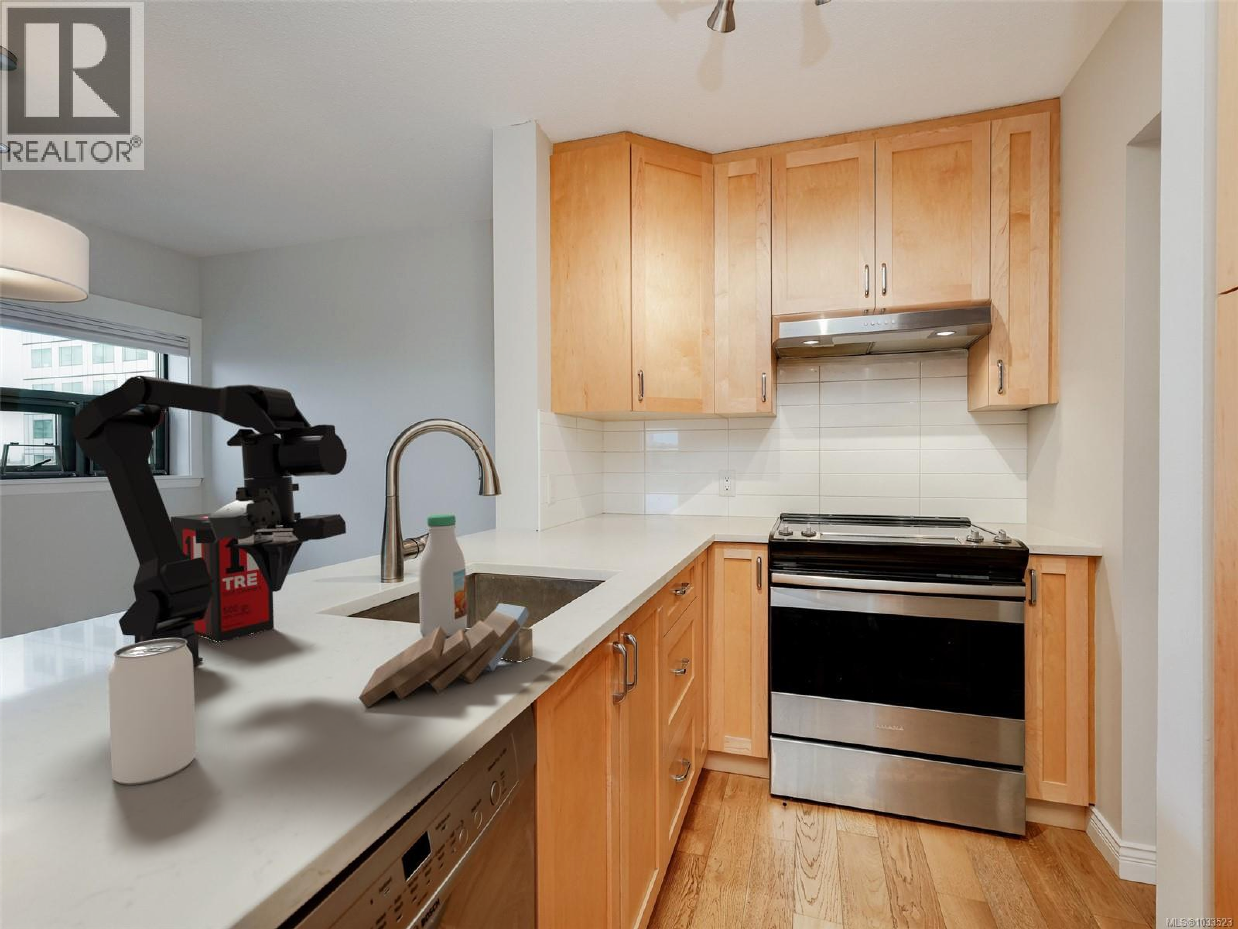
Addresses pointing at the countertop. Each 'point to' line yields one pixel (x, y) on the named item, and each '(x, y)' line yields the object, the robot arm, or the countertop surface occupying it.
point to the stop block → (520, 646)
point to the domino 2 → (437, 663)
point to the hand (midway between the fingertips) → (275, 591)
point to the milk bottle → (442, 579)
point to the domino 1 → (403, 666)
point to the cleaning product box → (227, 584)
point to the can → (151, 710)
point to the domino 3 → (466, 654)
